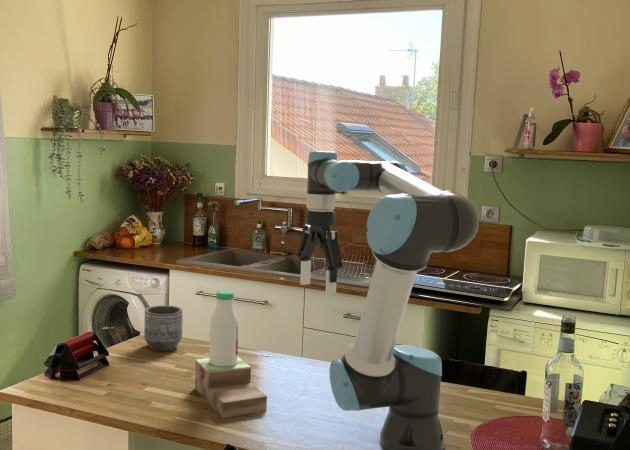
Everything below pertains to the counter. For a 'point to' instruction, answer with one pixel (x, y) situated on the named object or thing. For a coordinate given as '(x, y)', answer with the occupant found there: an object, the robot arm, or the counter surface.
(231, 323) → the milk bottle
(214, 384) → the plinth
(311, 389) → the counter surface
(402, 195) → the robot arm
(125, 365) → the counter surface
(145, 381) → the counter surface
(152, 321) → the planter
